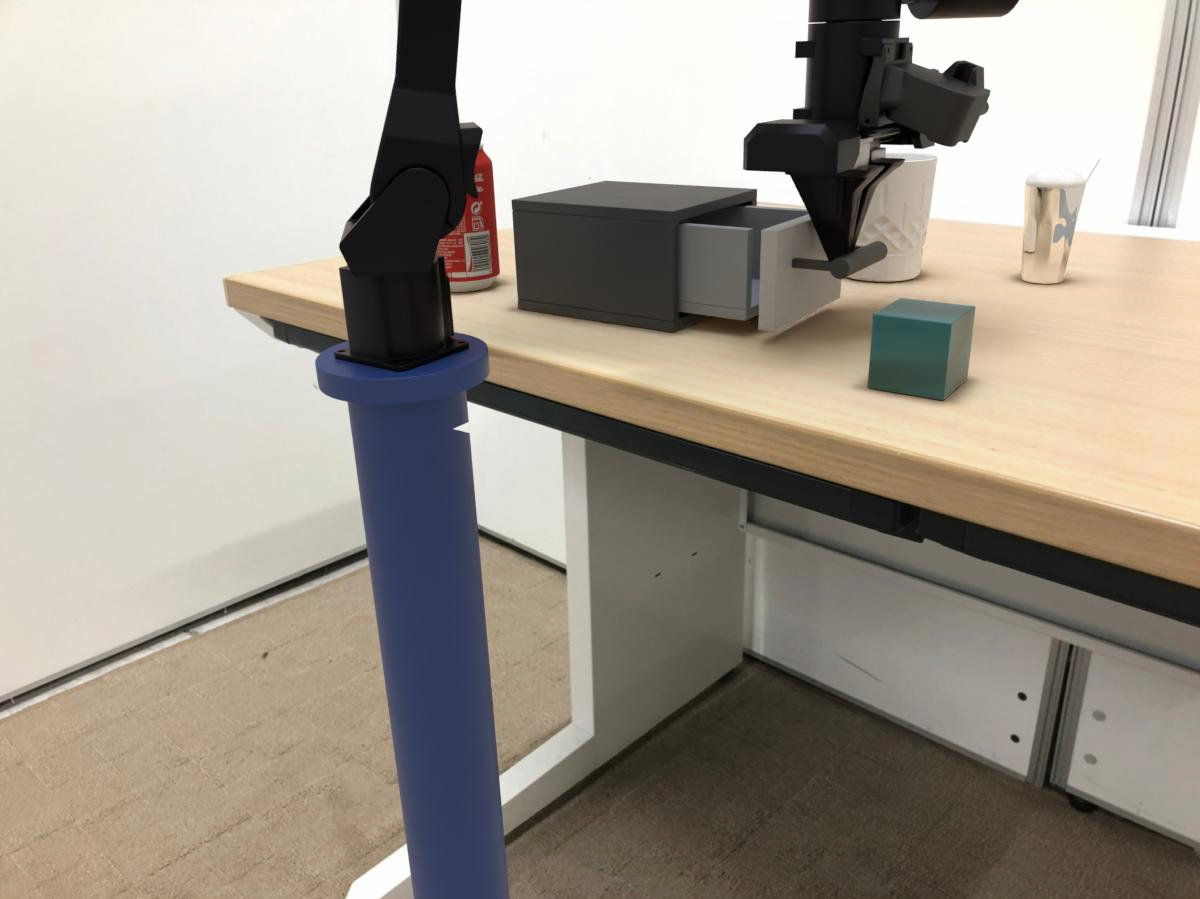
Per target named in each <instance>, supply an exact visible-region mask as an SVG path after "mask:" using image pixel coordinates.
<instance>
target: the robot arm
mask: <svg viewBox="0 0 1200 899" xmlns="http://www.w3.org/2000/svg"><path fill="white" fill-rule="evenodd" d="M1019 2H1020V0H808V16H807V17H808V19H807V21H808V22H807V23H808V24H807V40H796V41H795V45H794V46H795V50H794V59H806V66H805V88H804V89H805V90H804V106H803V107H796V108H792V118H789V119H788V118H781V119H774V120H768V121H763V122H758V123H756V124H755V125H754V126H753V127H752V129H750V130H749V132H748V133H747V134H746V135H745V136H744V138H743V147H742V148H743V150H742V151H743V152H742V153H743V154H742V170H744V171H746V172H767V173H768V172H770V173H784V175H787V176H790V178H791V181H792V182H793V185H794V187H795V189H796V190H797V194H798V195H799V197H800V199H801V201H802V202H803V205H804V207H805V209H807V211H808V214H809V216H810V218H811V220H812V223H813V225H814V228H815V230H816V232H817V235H818V237H819V240H820V242H821V244H822V247H823V249H824V252H825V254H826V256H827V259H828V261H833V260H834V259H836V258H838V257H841V256H843V255H845V254H848V253H850V252H852V251H854V248H855V245H856V242H857V239H858V236H859V233H860V230H861V228H862V225H863V222H864V219H865V216H866V213H867V210H868V207H869V205H870V202H871V199H872V197H873V194H874V192H875V189H876V187H877V185H878V184H879V183H880V182H881V181H882V180H883V179H885V178H886V177H887V176H888V175H889V174H890V173H892V172H893V171H894V170H895V169H896V168H898V167H900V166H901V165H902V164H903V163H904V161H905V159H902V158H885V155H886V152H887V147H883V146H913V148H914V149H916V150H923V149H927V148H931V147H934V146H935V144H937V145H940V146H944V147H948V148H952V147H953V148H954V147H955V146H957V145H958V143H961V142H962V143H963V144H966V143H969V141H970V138H971V137H972V134H973V132H974V130H975V128H976V126H977V124H978V121H979V119H980V117H981V116H983V115H986V114H987V113H988V112H989V109H990V106H989V103H988V99H989V98H990V96H991V92H992V90H991V89H988V88H985V67H983V66H982V65H978V64H976V63H973V62H972V61H971V62H970V61H968V60H965V59H964V60H956V61H954V62H953V63H952V64H951V65H950V66H949V67H947V68H946V70H944V71H943V72H940V70H939V69H936V68H928V67H925V66H922V65H920V64H916V63H913V54H914V45H913V42H910V37H908V36H905V37H900V31H901V30H900V28H901V20H900V19H901V16H902V15H901V13H902V5H906V6H907V8H908V10H909V13H910V14H911V15H912V17H913V18H916V19H917V20H949V19H950V20H951V19H980V18H1002V17H1004V16H1006V15H1008V14H1010V13H1011V12H1012V11H1013V10H1014V9H1015V8H1016V6H1017V5H1018V3H1019ZM462 3H463V0H398V14H397V32H396V53H395V70H394V71H395V72H394V79H393V83H392V88H391V92H390V97H389V100H388V105H387V109H386V114H385V118H384V123H383V127H382V132H381V135H380V140H379V145H378V149H377V153H376V158H375V162H374V167H373V170H372V175H371V180H370V186H369V195H368V196H367V197H366V198H365V199H364V200H363V202H362V203H361V204H360V205H359V207H358V208H357V209H356V210H355V211H353V213H352V215H351V216H350V217H349V218H348V219H347V220H346V222H345V224H344V228H343V231H342V234H341V238H340V242H339V244H338V248H339V251H340V253H341V255H342V257H343V260H344V261H345V264H346V265H345V266H339V267H338V273H339V281H340V288H341V295H342V303H343V304H342V305H343V311H344V318H345V326H346V333H347V341H348V343H349V347H345V348H342V349H339V350H336V351H334V357H335V359H338V360H343V361H347V362H352V363H357V364H361V365H366V366H371V367H375V368H380V369H385V370H389V371H394V372H405V371H409V370H411V369H414V368H417V367H420V366H422V365H425V364H428V363H431V362H434V361H436V360H439V359H442V358H445V357H447V356H450V355H453V354H456V353H459V352H461V351H464V350H467V349H469V342H468V341H465V340H460V339H454V338H451V337H452V336H453V335H454V332H455V327H454V314H453V305H452V292H450V281H449V277H448V276H447V275H446V271H445V260H444V255H437V254H436V251H437V247H438V243H439V240H440V239H443V238H445V237H446V236H447V235H448V234H449V233H451V232H452V231H453V230H454V229H455V228H456V227H458V226H459V224H460V222H461V220H462V218H463V216H464V212H465V208H466V204H467V194H468V195H469V196H471V197H472V198H473V199H478V197H479V194H478V191H477V188H476V184H475V172H474V169H475V163H476V159H477V155H478V151H479V147H480V143H481V144H482V139H483V133H484V129H483V128H482V127H480V126H479V125H478V124H477V123H476V122H474V121H471V122H460V115H459V114H460V113H459V107H458V106H459V105H458V97H457V87H456V86H457V85H456V84H457V71H458V69H457V68H458V56H459V43H460V30H461V18H462V17H461V16H462ZM881 145H882V147H881Z"/></svg>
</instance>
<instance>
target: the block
mask: <svg viewBox="0 0 1200 899" xmlns="http://www.w3.org/2000/svg"><path fill="white" fill-rule="evenodd" d="M975 316H976V306H975V305H967V304H958V303H950V302H940V301H931V300H922V299H915V298H905V297H900V298H898V299H896V300H895V301H893V302H891V303H889V304H887V305H886V306H884V307H882V308H881V309H879V310H877V311H875V312H874V313H873V314H872V322H871V324H872V325H871V337H870V349H869V350H870V351H869V366H868V375H867V376H868V377H867V388H868V389H873V390H877V391H884V392H890V393H895V394H902V395H907V396H908V395H909V396H914V397H920V398H927V399H932V400H939V401H945V400H946V399H947V398H948V397H949V396H950V395H951V394H952V393H954V392H955V391H956V390H957V389H958V388H960V386H961V385H963V383H965V382H966V381H967V380H968V377H969V376H968V375H969V368H970V358H971V349H972V341H973V331H974V324H975Z"/></svg>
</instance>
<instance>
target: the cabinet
mask: <svg viewBox="0 0 1200 899" xmlns="http://www.w3.org/2000/svg"><path fill="white" fill-rule="evenodd" d="M734 205H749V206H758V189H757V188H749V187H730V186H729V187H726V186H711V185H710V186H709V185H695V184H694V185H693V184H675V183H674V184H673V183H654V182H638V181H636V182H635V181H617V180H602V181H598V182H597V181H596V182H592V183H588V184H582V185H577V186H573V187H572V186H571V187H567V188H563V189H557V190H553V191H548V192H543V193H542V192H541V193H538V194H533V195H528V196H524V197H517V198H512V199H511V213H512V214H511V215H512V230H513V231H512V232H513V243H514V244H513V245H514V259H515V260H514V262H515V276H516V277H515V278H516V294H517V307H518V310H522V311H530V312H534V313H535V312H536V313H543V314H549V315H556V316H561V317H569V318H575V319H581V320H589V321H596V322H603V323H609V324H616V325H622V326H629V327H636V328H642V329H649V330H656V331H662V332H669V333H675V332H678V331H679V330H682V329H684V328H686V327H689V326H691V325H693V324H696V323H697V322H700V321H702V320H704V319H707V318H709V317H710V316H706V315H699V314H692V313H685V312H679V222H678V221H681V220H685V219H688V218H692V217H695V216H699V215H702V214H706V213H710V212H713V211H717V210H720V209H724V208H727V207H731V206H734Z"/></svg>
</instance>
